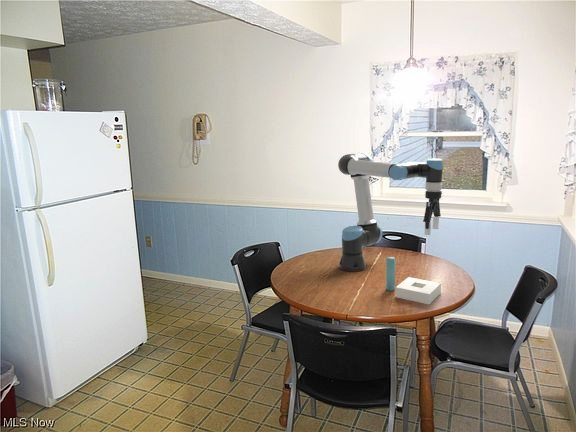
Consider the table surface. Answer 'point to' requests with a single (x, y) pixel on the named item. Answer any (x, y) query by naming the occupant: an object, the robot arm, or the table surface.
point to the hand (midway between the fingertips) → (431, 231)
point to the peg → (390, 274)
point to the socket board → (418, 290)
